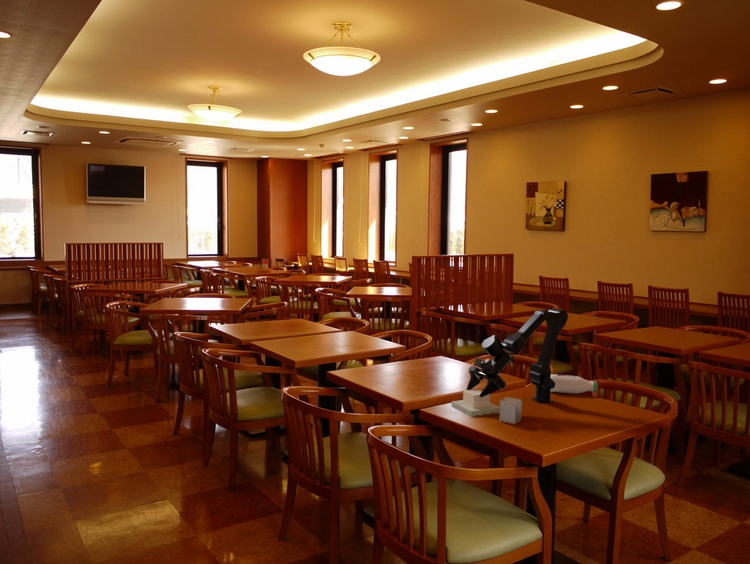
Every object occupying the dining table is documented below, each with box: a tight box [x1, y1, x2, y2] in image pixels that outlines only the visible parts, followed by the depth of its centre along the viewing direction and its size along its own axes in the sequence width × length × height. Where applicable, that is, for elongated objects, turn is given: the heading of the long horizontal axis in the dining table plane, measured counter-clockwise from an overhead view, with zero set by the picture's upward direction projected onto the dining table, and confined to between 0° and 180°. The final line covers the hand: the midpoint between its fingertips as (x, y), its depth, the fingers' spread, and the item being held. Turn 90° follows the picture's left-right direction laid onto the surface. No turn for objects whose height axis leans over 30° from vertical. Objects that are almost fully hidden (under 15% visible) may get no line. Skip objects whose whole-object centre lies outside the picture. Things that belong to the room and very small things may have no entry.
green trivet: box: [451, 399, 500, 417], centre depth 242 cm, size 14×14×2 cm
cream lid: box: [462, 388, 491, 408], centre depth 241 cm, size 7×7×5 cm
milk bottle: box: [550, 373, 599, 395], centre depth 269 cm, size 8×8×20 cm
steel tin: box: [498, 396, 523, 425], centre depth 228 cm, size 6×6×8 cm
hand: (473, 393), depth 241 cm, fingers open, 9 cm apart
